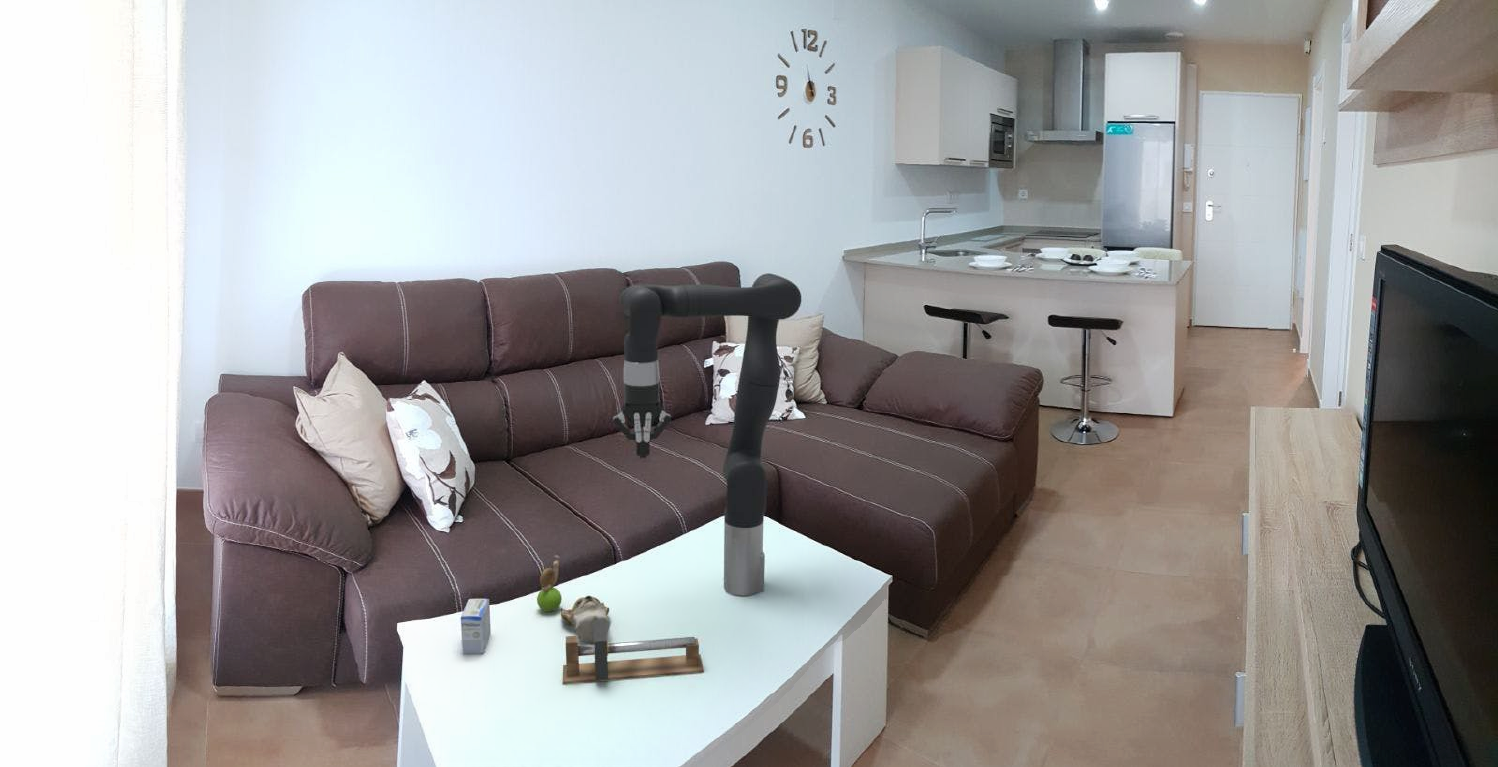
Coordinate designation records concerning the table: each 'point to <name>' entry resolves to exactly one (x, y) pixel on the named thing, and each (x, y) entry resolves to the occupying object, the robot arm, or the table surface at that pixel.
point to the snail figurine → (549, 589)
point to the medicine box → (475, 626)
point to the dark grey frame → (600, 649)
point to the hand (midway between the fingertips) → (642, 457)
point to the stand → (630, 665)
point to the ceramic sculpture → (586, 617)
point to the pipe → (639, 646)
